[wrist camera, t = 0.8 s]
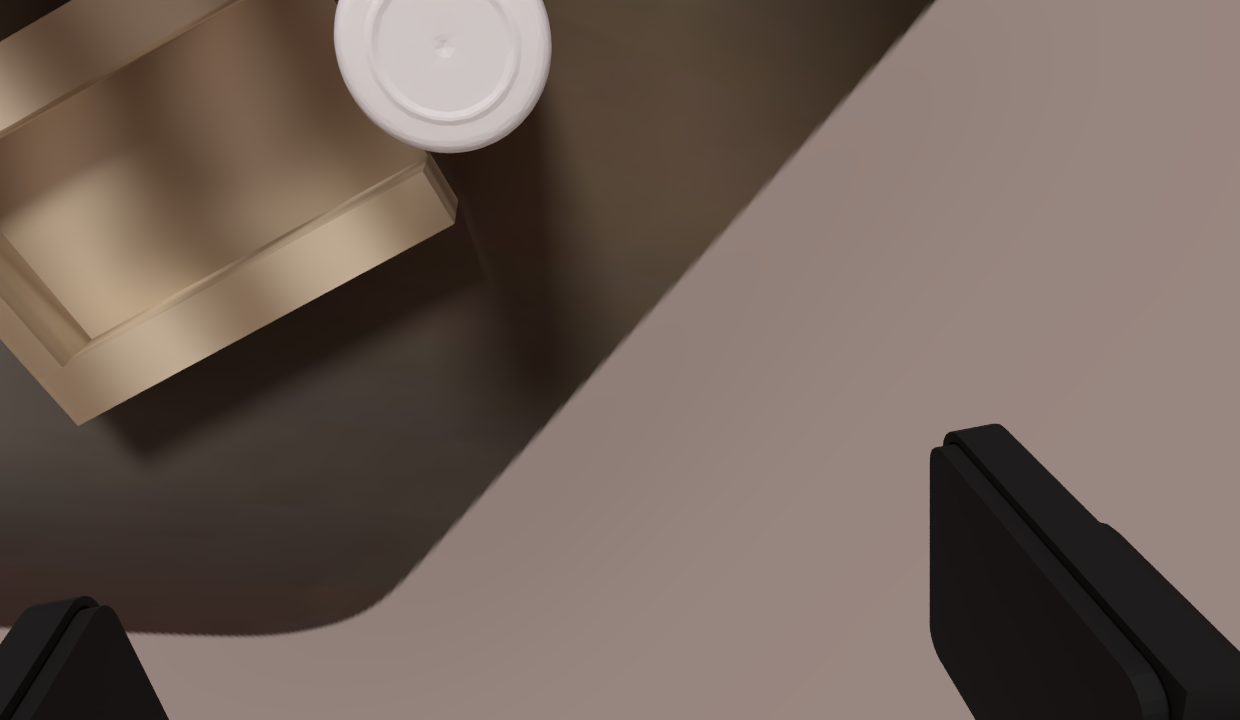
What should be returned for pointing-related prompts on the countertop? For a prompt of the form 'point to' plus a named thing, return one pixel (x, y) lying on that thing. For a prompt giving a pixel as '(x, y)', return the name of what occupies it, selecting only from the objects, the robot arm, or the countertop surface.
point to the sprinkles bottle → (444, 67)
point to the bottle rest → (185, 186)
